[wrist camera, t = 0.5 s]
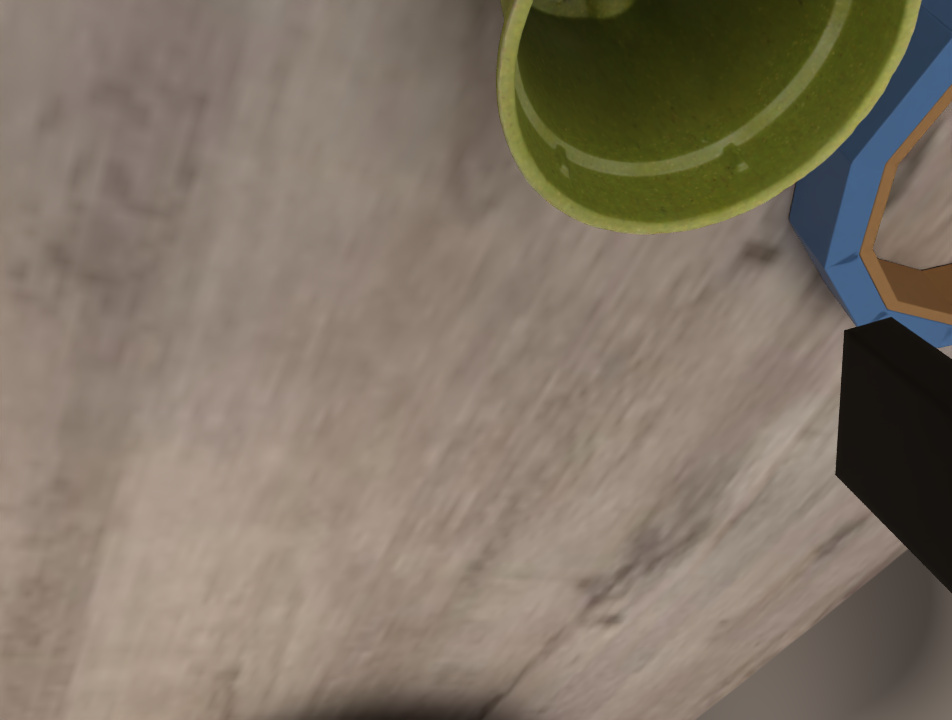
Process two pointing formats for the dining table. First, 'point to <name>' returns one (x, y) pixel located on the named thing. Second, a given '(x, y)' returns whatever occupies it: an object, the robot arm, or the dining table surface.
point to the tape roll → (882, 193)
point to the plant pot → (686, 100)
